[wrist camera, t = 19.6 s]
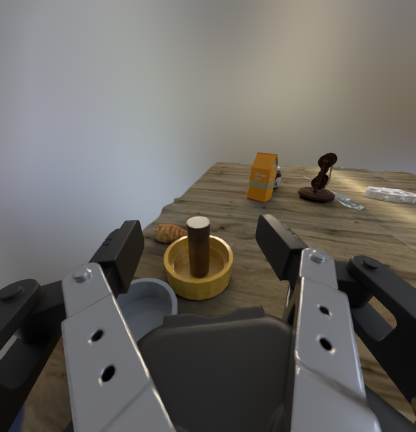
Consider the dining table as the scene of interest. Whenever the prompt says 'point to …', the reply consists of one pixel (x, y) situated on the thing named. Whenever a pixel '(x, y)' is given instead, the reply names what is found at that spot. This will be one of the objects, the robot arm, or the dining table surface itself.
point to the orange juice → (263, 177)
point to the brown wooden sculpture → (321, 181)
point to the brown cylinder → (198, 245)
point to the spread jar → (277, 179)
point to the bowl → (190, 285)
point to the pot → (147, 305)
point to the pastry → (169, 233)
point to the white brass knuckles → (390, 195)
